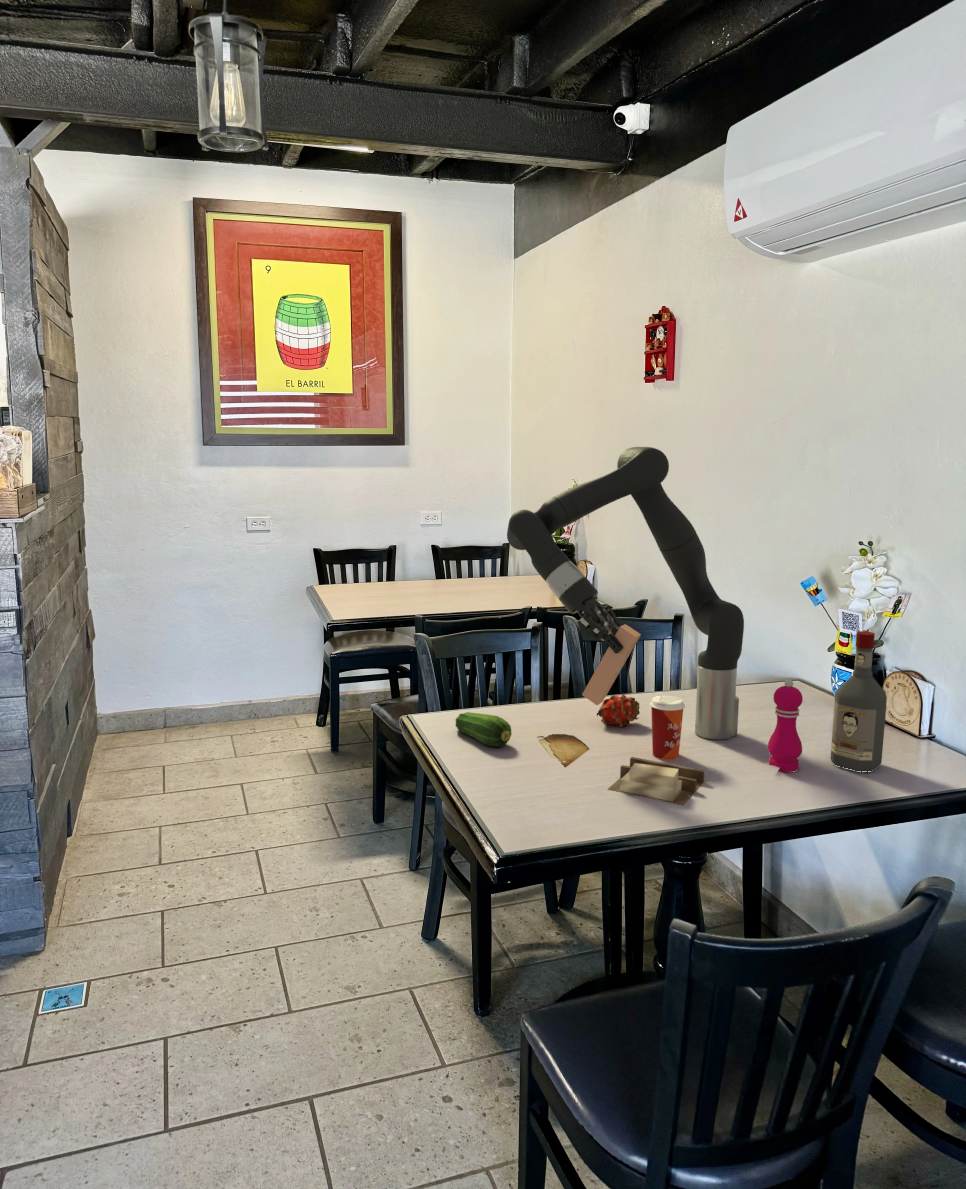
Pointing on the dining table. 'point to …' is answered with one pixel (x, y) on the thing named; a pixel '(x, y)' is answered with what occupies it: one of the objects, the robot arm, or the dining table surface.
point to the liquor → (859, 713)
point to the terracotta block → (611, 665)
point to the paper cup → (666, 726)
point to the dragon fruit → (619, 710)
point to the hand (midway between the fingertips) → (623, 648)
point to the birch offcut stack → (652, 781)
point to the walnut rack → (687, 775)
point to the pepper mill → (786, 729)
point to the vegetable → (485, 728)
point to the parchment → (564, 747)
